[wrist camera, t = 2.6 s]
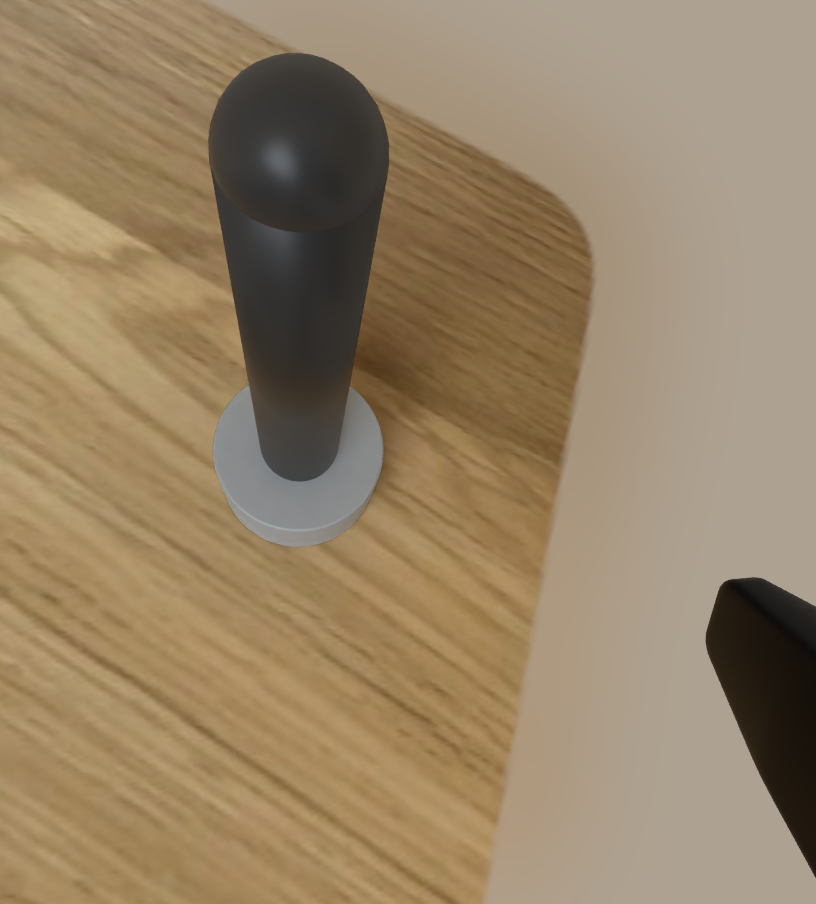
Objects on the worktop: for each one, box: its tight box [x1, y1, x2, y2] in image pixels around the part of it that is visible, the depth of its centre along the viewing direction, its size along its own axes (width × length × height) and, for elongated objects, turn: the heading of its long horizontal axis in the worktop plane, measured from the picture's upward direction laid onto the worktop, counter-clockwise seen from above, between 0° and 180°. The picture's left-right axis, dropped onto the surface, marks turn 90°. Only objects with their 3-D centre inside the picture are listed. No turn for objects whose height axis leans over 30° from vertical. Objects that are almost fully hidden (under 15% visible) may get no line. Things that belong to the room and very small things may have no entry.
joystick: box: [208, 53, 389, 547], centre depth 14 cm, size 4×4×14 cm
